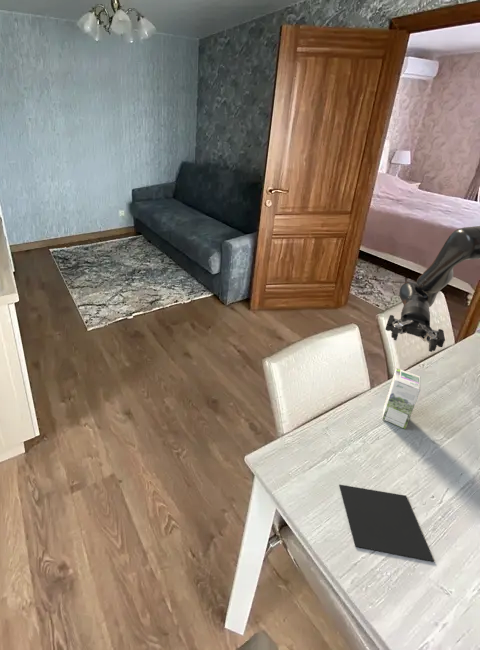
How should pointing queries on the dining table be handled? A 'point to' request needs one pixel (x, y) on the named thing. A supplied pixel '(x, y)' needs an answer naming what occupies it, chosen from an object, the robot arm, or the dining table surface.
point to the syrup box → (401, 398)
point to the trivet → (384, 523)
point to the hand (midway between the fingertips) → (413, 343)
